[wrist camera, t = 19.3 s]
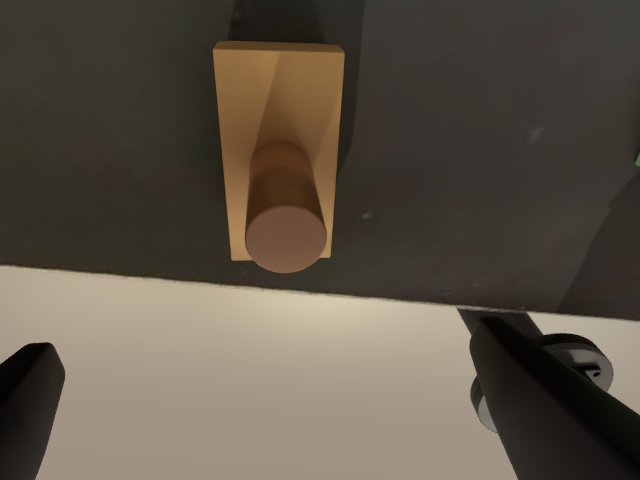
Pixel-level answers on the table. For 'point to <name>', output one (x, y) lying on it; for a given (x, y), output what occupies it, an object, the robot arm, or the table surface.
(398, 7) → the table surface
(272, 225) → the brush
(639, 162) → the tray
